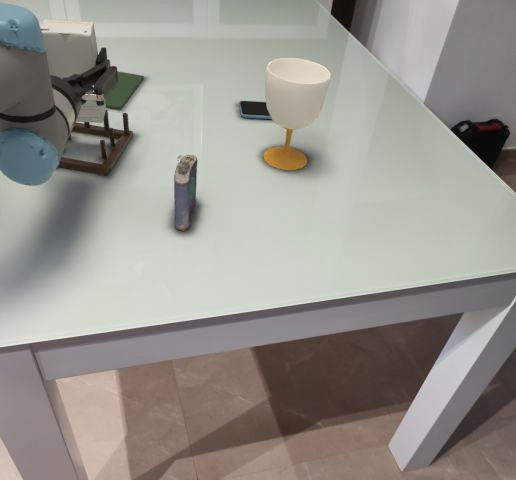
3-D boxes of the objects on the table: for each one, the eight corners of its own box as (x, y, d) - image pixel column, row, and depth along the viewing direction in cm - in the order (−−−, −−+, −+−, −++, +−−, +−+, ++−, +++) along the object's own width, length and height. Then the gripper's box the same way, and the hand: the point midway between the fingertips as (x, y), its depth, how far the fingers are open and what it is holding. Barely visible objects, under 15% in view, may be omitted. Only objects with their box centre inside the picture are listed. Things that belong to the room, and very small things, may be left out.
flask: (187, 232, 85) (188, 173, 77) (170, 229, 85) (168, 170, 77) (197, 202, 91) (199, 144, 83) (181, 199, 91) (181, 141, 83)
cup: (287, 180, 99) (302, 89, 86) (244, 155, 103) (252, 65, 91) (325, 162, 105) (344, 75, 92) (283, 139, 110) (295, 53, 97)
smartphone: (238, 99, 118) (302, 103, 120) (238, 103, 119) (301, 107, 121) (241, 114, 113) (307, 117, 116) (241, 118, 114) (306, 121, 116)
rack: (107, 175, 93) (104, 150, 89) (34, 163, 93) (27, 137, 90) (133, 135, 104) (131, 111, 100) (67, 124, 104) (63, 99, 100)
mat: (39, 96, 111) (38, 93, 110) (70, 66, 123) (70, 63, 122) (120, 110, 111) (120, 107, 110) (144, 78, 123) (143, 75, 122)
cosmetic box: (106, 110, 96) (97, 21, 85) (103, 125, 92) (93, 34, 81) (59, 107, 95) (44, 16, 84) (54, 122, 91) (37, 29, 80)
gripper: (-19, 129, 77) (21, 69, 92) (124, 141, 79) (140, 81, 94) (-35, 76, 71) (11, 22, 86) (120, 91, 74) (138, 36, 89)
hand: (78, 53), depth 90 cm, fingers closed on cosmetic box, 8 cm apart
